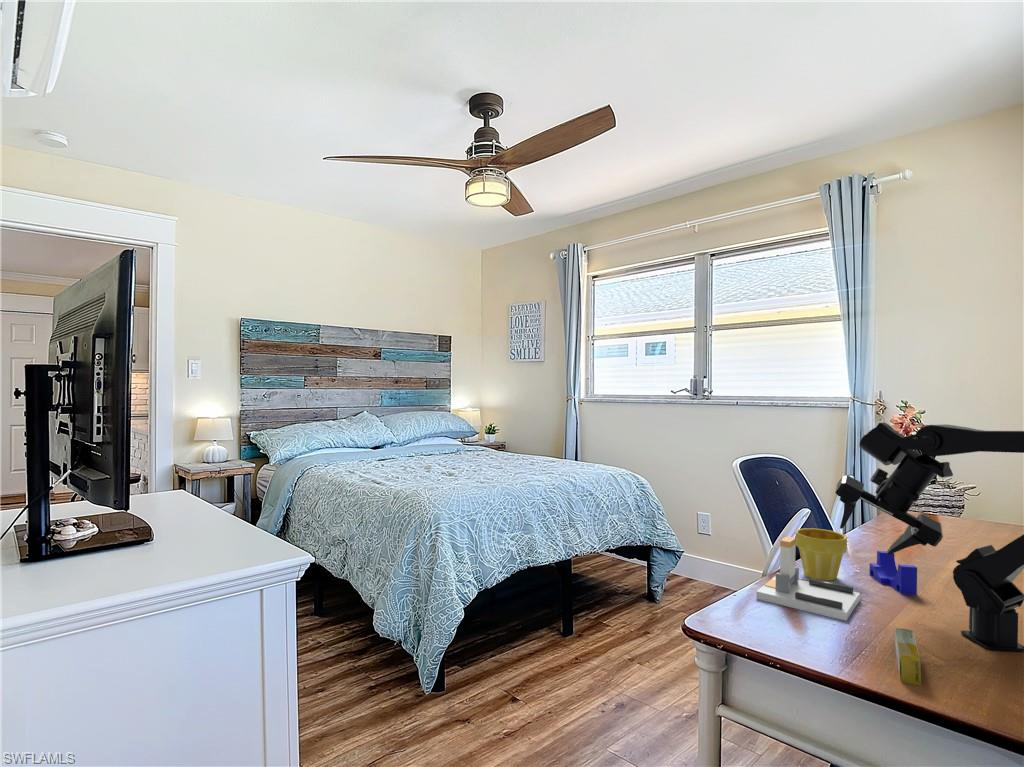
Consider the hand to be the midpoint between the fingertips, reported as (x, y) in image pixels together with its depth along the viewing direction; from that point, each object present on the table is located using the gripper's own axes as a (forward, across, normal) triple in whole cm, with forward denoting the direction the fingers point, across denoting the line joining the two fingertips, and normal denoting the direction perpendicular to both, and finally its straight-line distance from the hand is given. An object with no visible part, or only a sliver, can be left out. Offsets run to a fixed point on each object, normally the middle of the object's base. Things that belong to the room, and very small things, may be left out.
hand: (863, 540), depth 117 cm
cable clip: (+12, -12, -12) cm, 20 cm away
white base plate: (+13, +3, +9) cm, 17 cm away
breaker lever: (+13, +8, +8) cm, 17 cm away
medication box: (+1, -8, +31) cm, 32 cm away
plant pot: (+17, +1, -8) cm, 19 cm away
